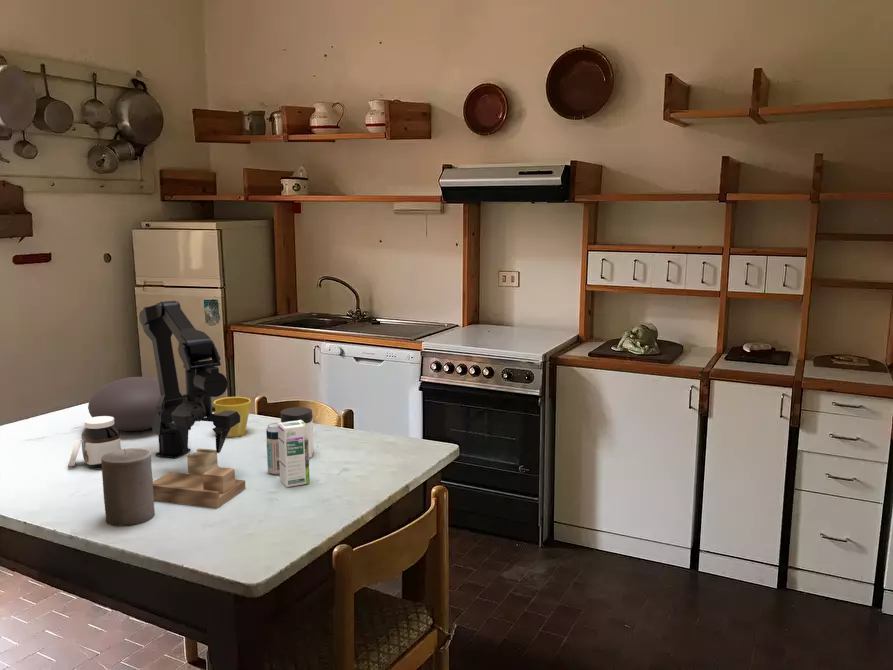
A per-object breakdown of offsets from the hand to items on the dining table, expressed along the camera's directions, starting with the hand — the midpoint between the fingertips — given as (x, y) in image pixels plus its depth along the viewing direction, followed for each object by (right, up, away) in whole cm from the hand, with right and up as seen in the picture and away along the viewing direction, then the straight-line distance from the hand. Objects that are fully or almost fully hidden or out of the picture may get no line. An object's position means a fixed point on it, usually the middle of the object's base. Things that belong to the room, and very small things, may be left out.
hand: (201, 450), depth 185 cm
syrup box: (+24, -7, -4) cm, 25 cm away
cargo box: (+9, -6, -14) cm, 18 cm away
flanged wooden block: (0, -6, +1) cm, 6 cm away
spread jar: (-29, -5, +7) cm, 31 cm away
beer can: (+18, -6, +2) cm, 19 cm away
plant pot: (-1, 0, +33) cm, 33 cm away
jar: (+20, -4, +15) cm, 26 cm away
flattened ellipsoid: (-31, +1, +38) cm, 49 cm away
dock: (+2, -8, -12) cm, 14 cm away
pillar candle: (-7, -10, -25) cm, 28 cm away
